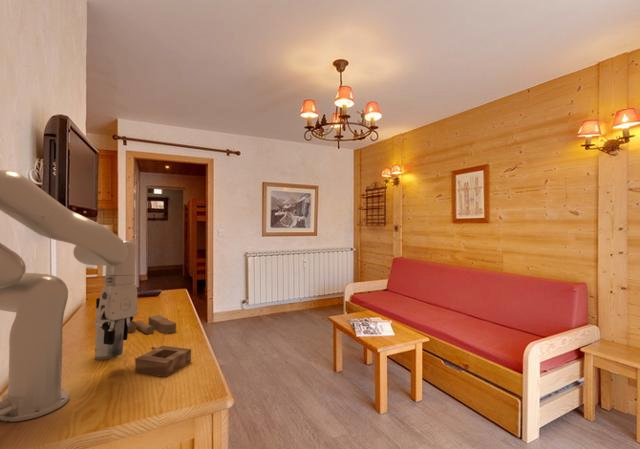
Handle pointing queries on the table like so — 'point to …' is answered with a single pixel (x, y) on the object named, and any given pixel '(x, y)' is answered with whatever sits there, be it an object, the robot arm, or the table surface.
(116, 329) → the round metal rod
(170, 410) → the table surface
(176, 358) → the brown hollow tray
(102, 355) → the travel mug
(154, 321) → the wooden block set
